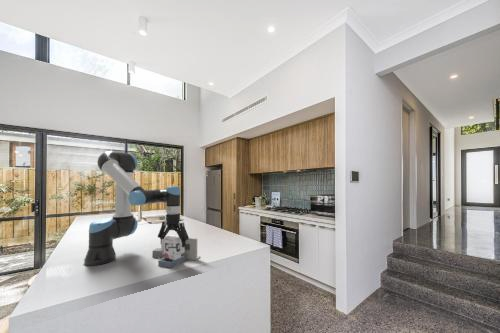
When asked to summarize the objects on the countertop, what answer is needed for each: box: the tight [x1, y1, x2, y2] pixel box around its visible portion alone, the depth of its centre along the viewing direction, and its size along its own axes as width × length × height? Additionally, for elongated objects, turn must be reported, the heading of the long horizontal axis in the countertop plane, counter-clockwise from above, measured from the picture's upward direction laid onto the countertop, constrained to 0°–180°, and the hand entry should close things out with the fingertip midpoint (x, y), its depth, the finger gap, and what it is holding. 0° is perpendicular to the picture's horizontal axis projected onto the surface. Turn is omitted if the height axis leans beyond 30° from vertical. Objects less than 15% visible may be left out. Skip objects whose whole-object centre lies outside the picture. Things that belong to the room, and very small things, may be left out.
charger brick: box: [151, 247, 165, 259], centre depth 134 cm, size 6×5×4 cm
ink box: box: [163, 234, 181, 260], centre depth 124 cm, size 8×5×12 cm, turn 60°
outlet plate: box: [182, 237, 201, 261], centre depth 133 cm, size 20×5×12 cm, turn 69°
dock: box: [157, 254, 187, 269], centre depth 123 cm, size 9×13×3 cm
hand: (172, 251), depth 123 cm, fingers open, 13 cm apart
